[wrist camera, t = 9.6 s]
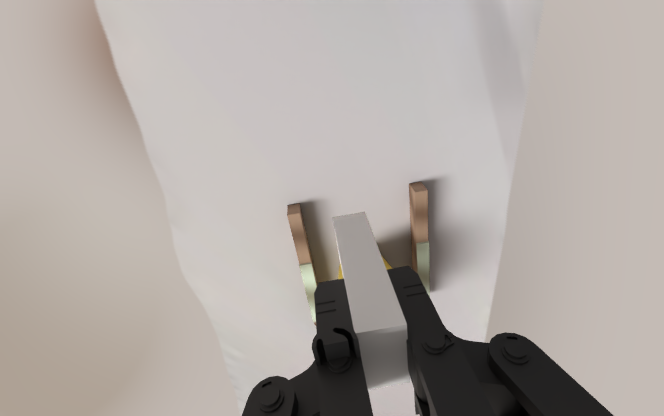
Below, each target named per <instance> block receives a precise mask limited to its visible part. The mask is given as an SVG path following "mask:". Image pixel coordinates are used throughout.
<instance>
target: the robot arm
mask: <svg viewBox="0 0 664 416" xmlns="http://www.w3.org/2000/svg"><path fill="white" fill-rule="evenodd" d="M333 224H334V229H335V235H336V241H337V247H338V252H339V258H340V264H341V269H342V275H343V279H337V280H332V281H326V282H321V283H318V285H317V288H316V290H315V292H314V300H315V313H316V329H317V334H316V336H315V337H314V339H313V343H312V350H313V354H314V358H315V361H314V362H313V364H312V365H311V366H310V367H309V368H308V369H307V370H306V371H304V372H303V373H301V374H300V375H298V376H296V377H294V378H292V379H290V380H287V379H286V378H284V377H280V376H274V377H268V378H266V379H265V380H263V381H261V382H260V383H258V384H257V385H256V386H255V387H254V388H253V390H252V392H251V394H250V395H249V397H248V400H247V403H246V406H245V408H244V411H243V414H242V416H373V413H372V408H371V403H370V398H369V393H368V390H373V389H378V388H383V387H389V386H394V385H400V384H405V383H410V377H411V380H412V383H413V386H414V394H415V411H416V414H420V416H613V415H612V414H611V413H610V412H609V411H608V410H607V409H606V408H605V407H604V406H602V405H601V404H600V403H599V402H598V401H597V400H596V399H595V398H593V396H591V395H590V394H589V393H588V392H587V391H586V390H585V389H584V388H583V387H581V385H579V384H578V383H577V382H576V381H575V380H574V379H573V378H572V377H571V376H569V375H568V374H567V373H566V372H565V371H564V370H563V369H562V368H561V367H560V366H559V365H558V364H556V363H555V362H554V361H553V360H552V359H551V358H550V357H549V356H548V355H547V354H545V353H544V352H543V351H542V350H541V349H540V348H539V347H538V346H536V345H535V344H534V343H533V342H532V341H530V340H528V339H527V338H526V337H523V336H521V335H518V334H515V333H502V334H497V335H496V336H495V337H493V338H492V339H491V341H490V343H483V342H473V341H467V340H463V339H461V338H458V337H456V336H454V335H453V334H452V333H451V332H449V331H448V330H447V329H446V328H445V326H444V325H443V323H442V321H441V319H440V317H439V315H438V313H437V311H436V309H435V307H434V305H433V303H432V301H431V299H430V297H429V295H428V294H427V291H426V289H425V287H424V286H423V283H422V281H421V279H420V277H419V275H418V273H417V272H415V271H414V270H413V269H412V268H410V267H409V266H404V267H399V268H393V269H388V270H386V267H385V264H384V262H383V259H382V256H381V254H380V251H379V248H378V246H377V243H376V240H375V238H374V235H373V232H372V230H371V227H370V224H369V222H368V219H367V216H366V214H365V212H361V213H355V214H350V215H344V216H339V217H333Z"/></svg>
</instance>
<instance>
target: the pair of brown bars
mask: <svg viewBox="0 0 664 416" xmlns="http://www.w3.org/2000/svg"><path fill="white" fill-rule="evenodd" d="M409 196H410V221H411V246H412V269H413V270H414V271H415V272H417V273H418V275H419V277H420V279H421V281H422V283H423V286H424V287H425V289H426V291H427V294H428V295H429V297H430V278H429V241H428V190H427V189H426V188H425V186H424V185H423V184H422V183H421V182H416V183H411V184H409ZM287 216H288V220H289V224H290V228H291V232H292V236H293V240H294V244H295V248H296V252H297V256H298V260H299V267H300V271H301V275H302V279H303V283H304V287H305V291H306V295H307V299H308V303H309V307H310V311H311V315H312V319H313V322H314V324H315V325H316V313H315V300H314V292H315V290H316V288H317V285H318V283H317V279H316V274H315V270H314V265H313V261H312V257H311V252H310V248H309V243H308V239H307V234H306V230H305V225H304V221H303V216H302V212H301V207H300V203H298V204H293V205H288V212H287Z"/></svg>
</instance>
